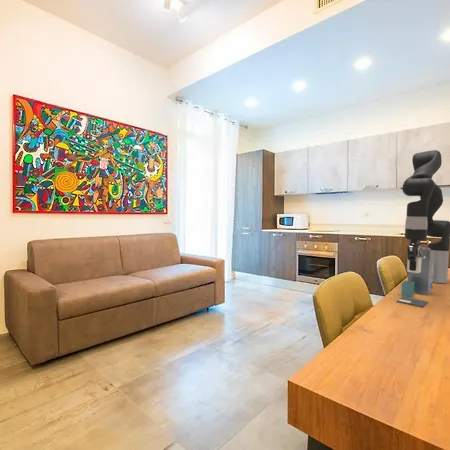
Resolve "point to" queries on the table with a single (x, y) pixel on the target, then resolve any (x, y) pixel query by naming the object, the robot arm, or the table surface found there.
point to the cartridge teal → (407, 288)
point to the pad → (412, 301)
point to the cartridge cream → (418, 265)
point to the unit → (423, 273)
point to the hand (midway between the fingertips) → (413, 269)
